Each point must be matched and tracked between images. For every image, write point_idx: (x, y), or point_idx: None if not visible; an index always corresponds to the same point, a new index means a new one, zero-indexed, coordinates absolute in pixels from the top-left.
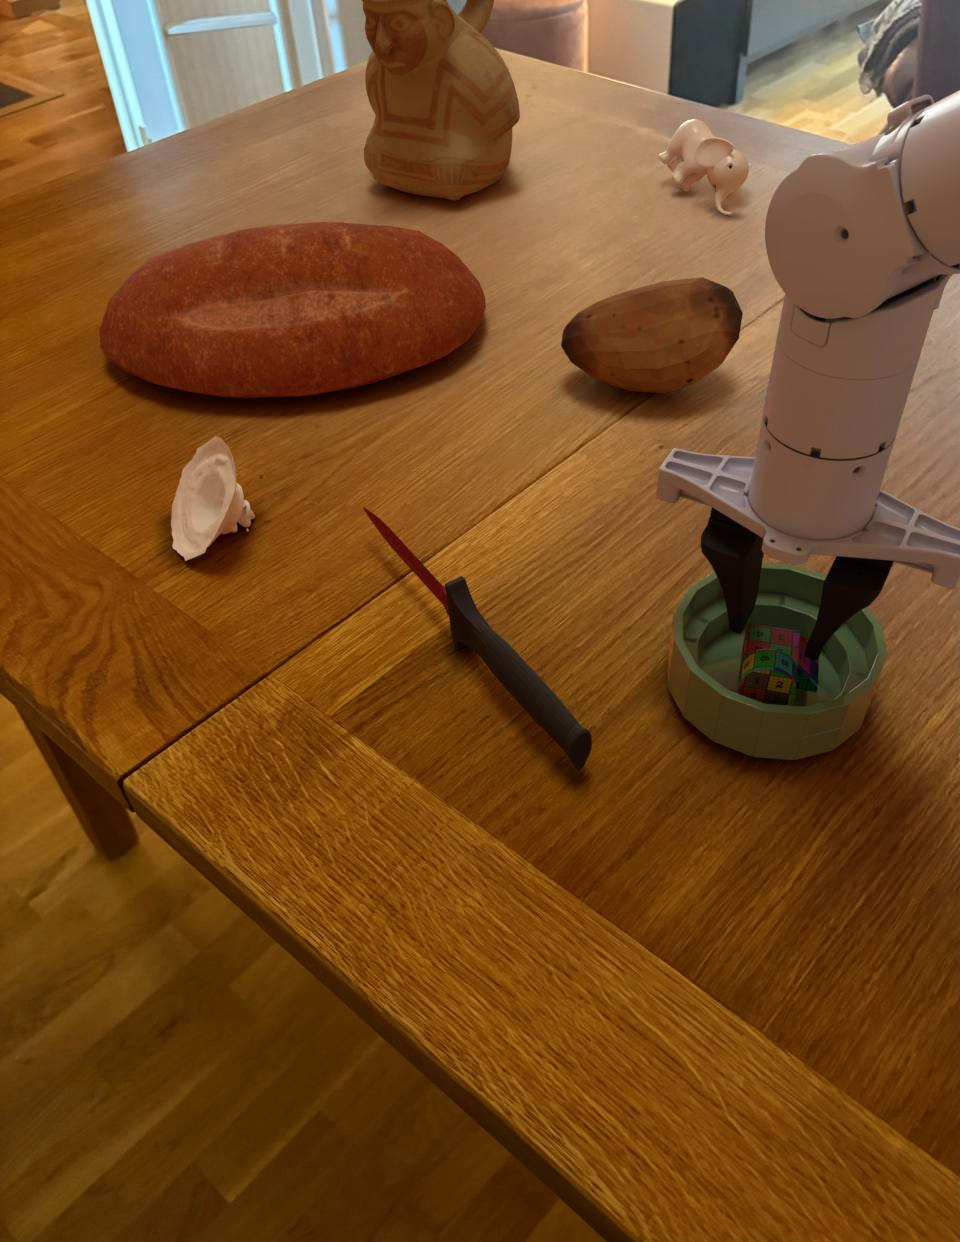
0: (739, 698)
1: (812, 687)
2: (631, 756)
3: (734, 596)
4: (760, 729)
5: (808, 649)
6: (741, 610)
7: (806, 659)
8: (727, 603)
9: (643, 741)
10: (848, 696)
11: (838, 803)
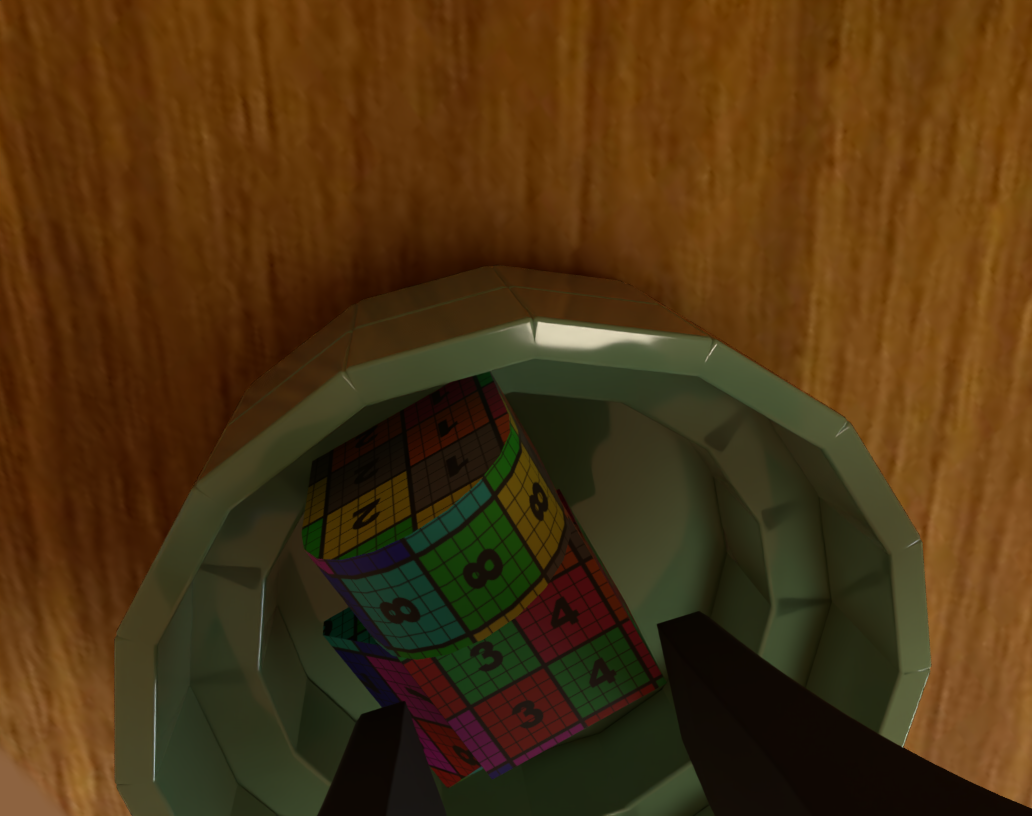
0: (465, 354)
1: (339, 625)
2: (668, 47)
3: (805, 744)
4: (345, 339)
5: (388, 736)
6: (723, 704)
7: (411, 699)
8: (800, 692)
9: (671, 129)
10: (143, 664)
11: (64, 358)
